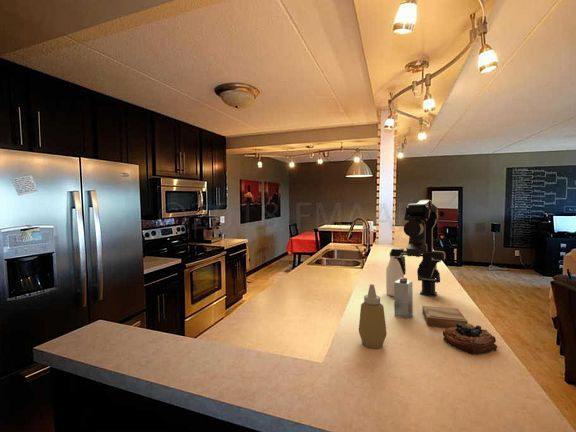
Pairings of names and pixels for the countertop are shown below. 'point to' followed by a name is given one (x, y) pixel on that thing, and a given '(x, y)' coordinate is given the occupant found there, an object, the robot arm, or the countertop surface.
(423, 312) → the stand
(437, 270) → the robot arm
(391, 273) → the milk bottle
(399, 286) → the housing
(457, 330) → the pastry
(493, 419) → the countertop surface
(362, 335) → the squeeze bottle
